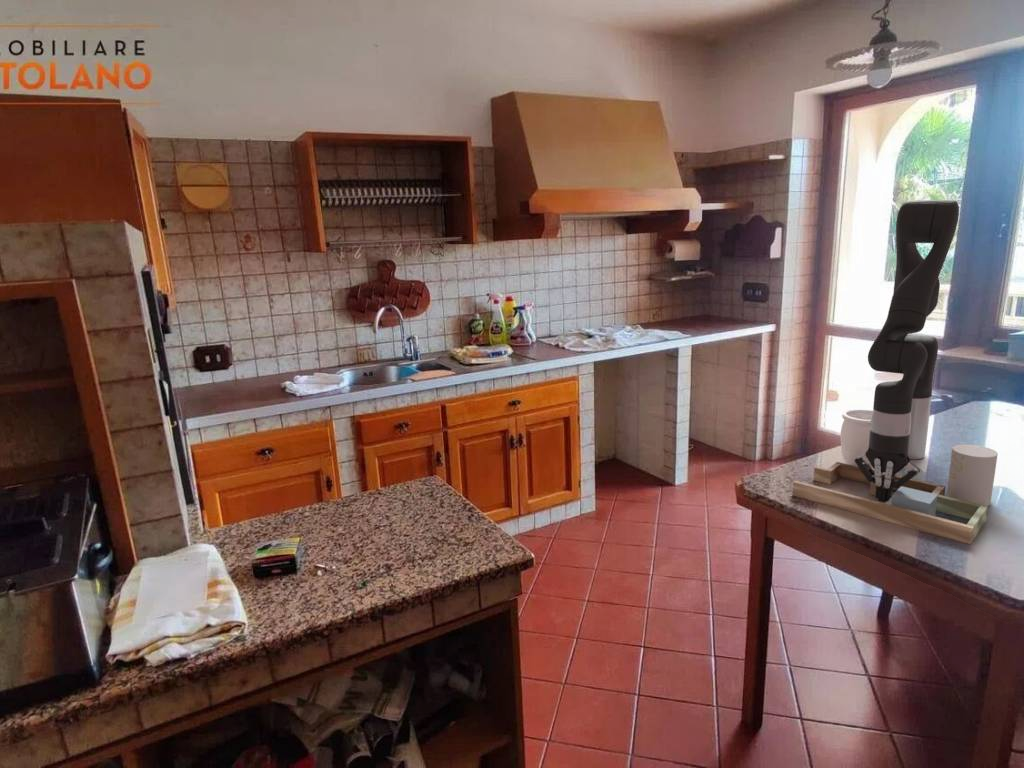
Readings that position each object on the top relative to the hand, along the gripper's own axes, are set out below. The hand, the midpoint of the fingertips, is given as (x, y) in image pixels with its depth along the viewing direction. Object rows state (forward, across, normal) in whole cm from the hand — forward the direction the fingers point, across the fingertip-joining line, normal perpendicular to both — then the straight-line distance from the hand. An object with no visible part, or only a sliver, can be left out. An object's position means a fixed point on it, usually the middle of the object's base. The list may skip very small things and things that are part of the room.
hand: (882, 501), depth 135 cm
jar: (+2, +12, -20) cm, 24 cm away
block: (+2, -6, 0) cm, 6 cm away
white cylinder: (+2, -12, -17) cm, 21 cm away
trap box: (+2, 0, -3) cm, 3 cm away
